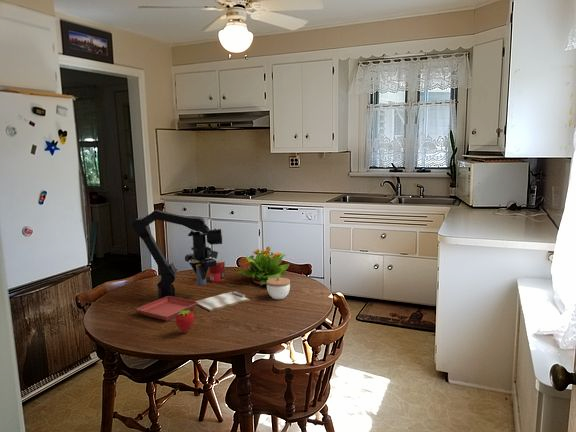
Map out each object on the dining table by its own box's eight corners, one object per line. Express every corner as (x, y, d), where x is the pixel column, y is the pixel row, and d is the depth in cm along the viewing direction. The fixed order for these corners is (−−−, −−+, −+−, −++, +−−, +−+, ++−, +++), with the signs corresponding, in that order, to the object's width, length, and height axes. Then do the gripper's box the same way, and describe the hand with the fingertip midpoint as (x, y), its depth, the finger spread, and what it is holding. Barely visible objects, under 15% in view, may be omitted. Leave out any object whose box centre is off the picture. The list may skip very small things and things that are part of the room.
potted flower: (230, 286, 218) (228, 251, 215) (248, 273, 240) (247, 241, 238) (278, 290, 210) (277, 254, 208) (292, 276, 233) (291, 243, 230)
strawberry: (199, 331, 164) (197, 305, 163) (183, 338, 158) (182, 311, 156) (187, 327, 167) (186, 302, 166) (172, 334, 161) (170, 308, 160)
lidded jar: (262, 299, 198) (261, 278, 197) (274, 292, 207) (273, 272, 206) (283, 302, 193) (282, 281, 192) (294, 295, 202) (294, 275, 201)
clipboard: (210, 311, 184) (210, 308, 183) (192, 302, 195) (192, 299, 195) (249, 300, 196) (249, 296, 196) (231, 292, 208) (230, 289, 208)
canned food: (224, 282, 224) (223, 261, 222) (208, 283, 224) (207, 261, 222) (226, 278, 231) (225, 257, 230) (211, 278, 232) (210, 258, 230)
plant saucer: (167, 324, 172) (166, 316, 172) (135, 316, 182) (135, 308, 181) (199, 309, 188) (198, 301, 187) (168, 302, 197) (168, 295, 196)
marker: (199, 286, 199) (198, 266, 198) (195, 284, 202) (194, 264, 201) (208, 284, 202) (207, 264, 200) (203, 282, 205) (202, 263, 204)
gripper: (226, 245, 197) (227, 279, 200) (204, 239, 211) (206, 271, 214) (204, 249, 190) (205, 284, 193) (183, 243, 204) (185, 276, 207)
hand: (201, 278), depth 202 cm, fingers closed on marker, 4 cm apart
